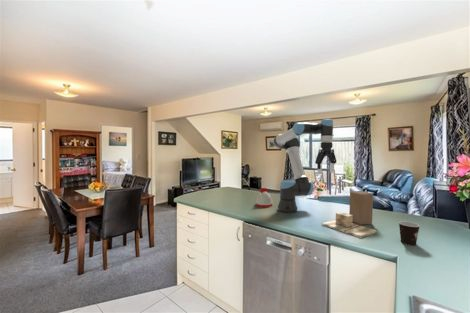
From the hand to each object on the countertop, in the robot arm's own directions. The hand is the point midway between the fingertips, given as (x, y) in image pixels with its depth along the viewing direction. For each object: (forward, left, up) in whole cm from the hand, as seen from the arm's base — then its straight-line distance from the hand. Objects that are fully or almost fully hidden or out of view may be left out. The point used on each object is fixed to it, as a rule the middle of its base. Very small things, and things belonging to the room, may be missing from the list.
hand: (325, 173), depth 159 cm
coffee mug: (+47, +1, -32) cm, 57 cm away
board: (+19, -4, -32) cm, 37 cm away
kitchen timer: (-52, -10, -32) cm, 62 cm away
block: (+17, +14, -32) cm, 39 cm away
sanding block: (+16, -4, -30) cm, 35 cm away
